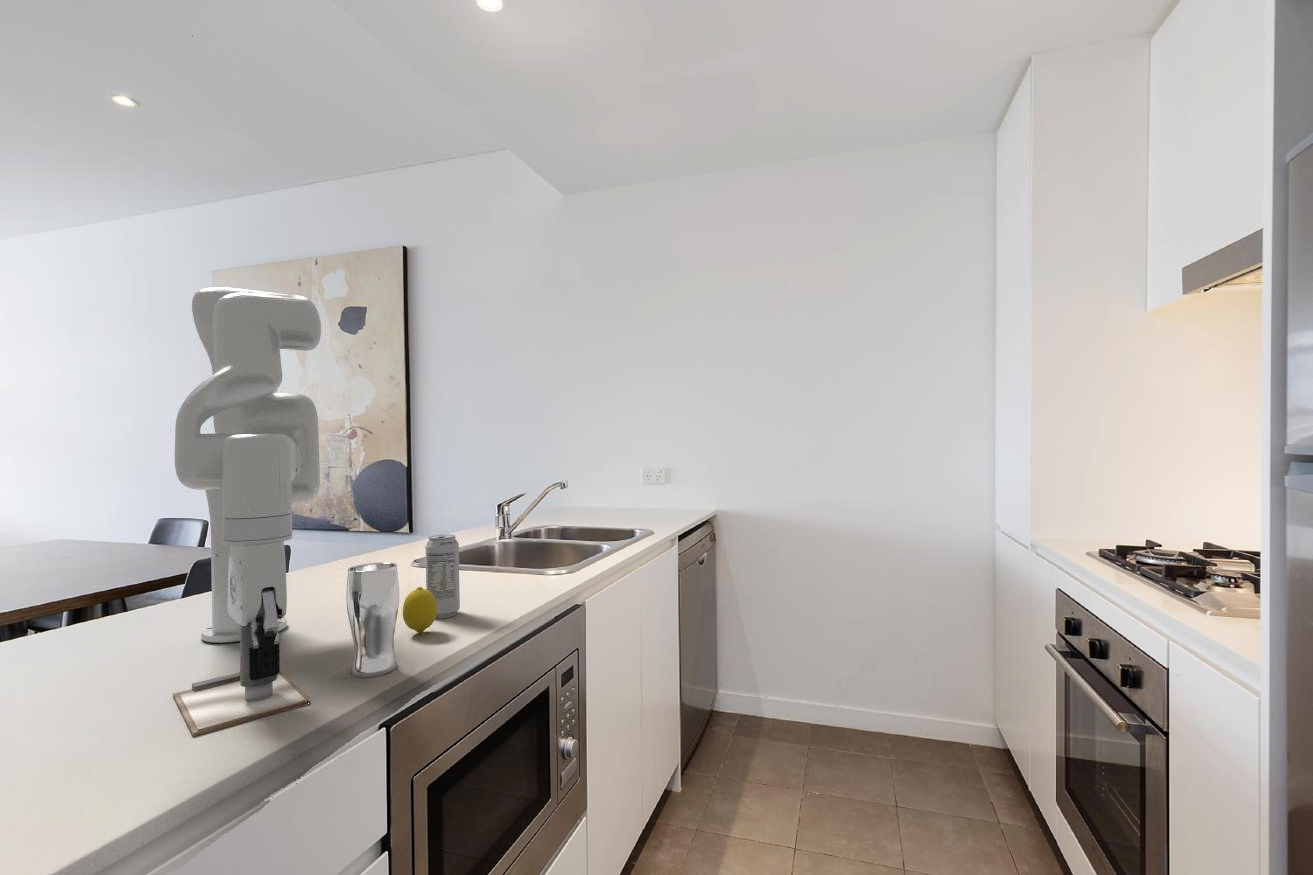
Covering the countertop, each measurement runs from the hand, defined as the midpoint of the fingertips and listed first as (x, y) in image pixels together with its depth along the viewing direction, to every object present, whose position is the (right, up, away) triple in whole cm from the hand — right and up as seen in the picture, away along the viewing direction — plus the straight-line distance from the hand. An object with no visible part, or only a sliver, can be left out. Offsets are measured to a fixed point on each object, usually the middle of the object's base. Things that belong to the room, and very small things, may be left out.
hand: (260, 670), depth 79 cm
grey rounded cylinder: (0, -3, 0) cm, 3 cm away
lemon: (+10, -4, +27) cm, 29 cm away
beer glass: (+10, -4, +10) cm, 15 cm away
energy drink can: (+10, -4, +39) cm, 40 cm away
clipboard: (-3, -4, 0) cm, 5 cm away
